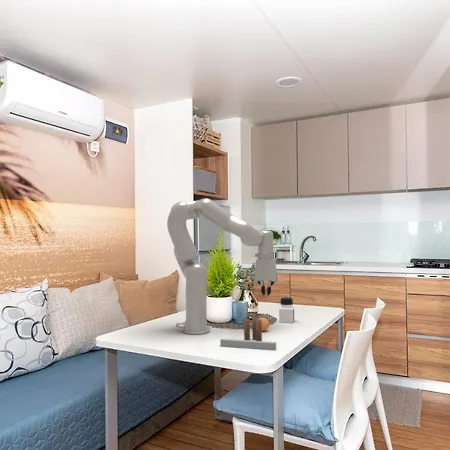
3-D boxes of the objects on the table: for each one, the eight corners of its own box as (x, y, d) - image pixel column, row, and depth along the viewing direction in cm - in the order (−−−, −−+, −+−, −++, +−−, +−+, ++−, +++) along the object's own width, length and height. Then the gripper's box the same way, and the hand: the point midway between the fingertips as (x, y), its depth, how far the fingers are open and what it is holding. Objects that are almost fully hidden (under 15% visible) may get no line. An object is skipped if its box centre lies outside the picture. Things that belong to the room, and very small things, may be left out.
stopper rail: (220, 346, 165) (220, 339, 165) (221, 344, 167) (221, 338, 167) (275, 350, 159) (275, 343, 159) (276, 348, 161) (276, 342, 161)
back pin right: (256, 342, 169) (256, 320, 170) (255, 341, 172) (255, 319, 172) (262, 342, 170) (262, 320, 170) (261, 341, 172) (261, 319, 172)
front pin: (252, 340, 174) (252, 318, 174) (251, 338, 176) (251, 317, 177) (258, 339, 174) (258, 318, 174) (257, 338, 177) (257, 317, 177)
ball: (257, 332, 187) (257, 319, 187) (255, 329, 193) (254, 316, 193) (270, 332, 187) (270, 318, 187) (267, 329, 193) (267, 316, 193)
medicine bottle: (293, 323, 205) (293, 298, 206) (279, 322, 207) (278, 298, 207) (294, 320, 212) (293, 296, 213) (280, 319, 214) (279, 296, 214)
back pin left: (244, 342, 171) (244, 320, 171) (243, 340, 173) (243, 318, 173) (250, 341, 171) (250, 319, 171) (249, 340, 174) (249, 318, 174)
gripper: (247, 256, 198) (248, 295, 198) (280, 257, 194) (281, 296, 193) (251, 256, 206) (252, 293, 205) (283, 256, 201) (283, 294, 201)
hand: (266, 294), depth 199 cm, fingers closed
